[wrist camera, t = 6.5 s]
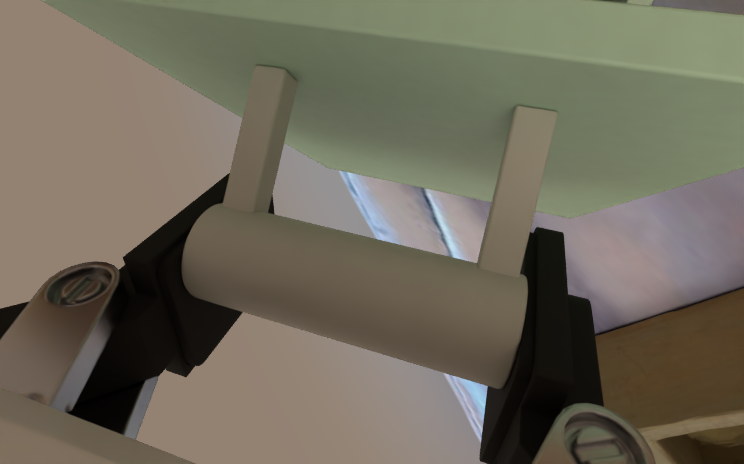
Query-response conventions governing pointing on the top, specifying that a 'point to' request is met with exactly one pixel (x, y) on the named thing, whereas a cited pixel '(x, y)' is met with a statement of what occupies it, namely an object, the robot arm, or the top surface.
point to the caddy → (681, 380)
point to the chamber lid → (433, 144)
